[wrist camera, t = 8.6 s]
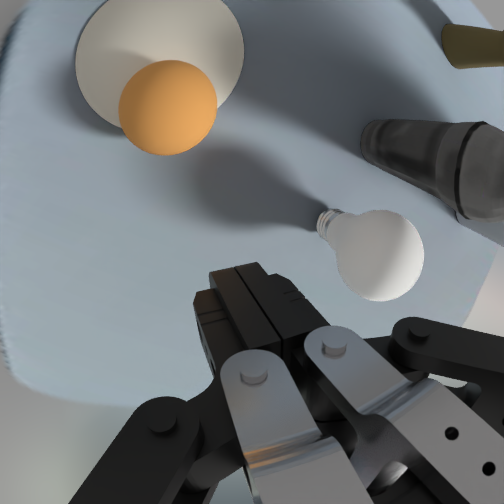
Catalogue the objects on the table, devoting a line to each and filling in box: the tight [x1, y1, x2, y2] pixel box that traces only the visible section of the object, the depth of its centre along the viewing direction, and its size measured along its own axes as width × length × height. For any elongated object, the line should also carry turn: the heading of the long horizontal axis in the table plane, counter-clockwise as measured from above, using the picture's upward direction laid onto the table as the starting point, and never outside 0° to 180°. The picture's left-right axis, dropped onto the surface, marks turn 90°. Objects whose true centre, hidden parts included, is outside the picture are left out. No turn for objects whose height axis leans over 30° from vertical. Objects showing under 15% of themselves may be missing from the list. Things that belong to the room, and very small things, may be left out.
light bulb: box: [316, 209, 424, 301], centre depth 23 cm, size 7×7×11 cm
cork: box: [442, 24, 504, 69], centre depth 20 cm, size 6×6×11 cm
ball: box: [118, 60, 217, 155], centre depth 17 cm, size 6×6×6 cm
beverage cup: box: [361, 119, 504, 223], centre depth 18 cm, size 7×7×20 cm
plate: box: [75, 0, 244, 128], centre depth 17 cm, size 12×12×1 cm
